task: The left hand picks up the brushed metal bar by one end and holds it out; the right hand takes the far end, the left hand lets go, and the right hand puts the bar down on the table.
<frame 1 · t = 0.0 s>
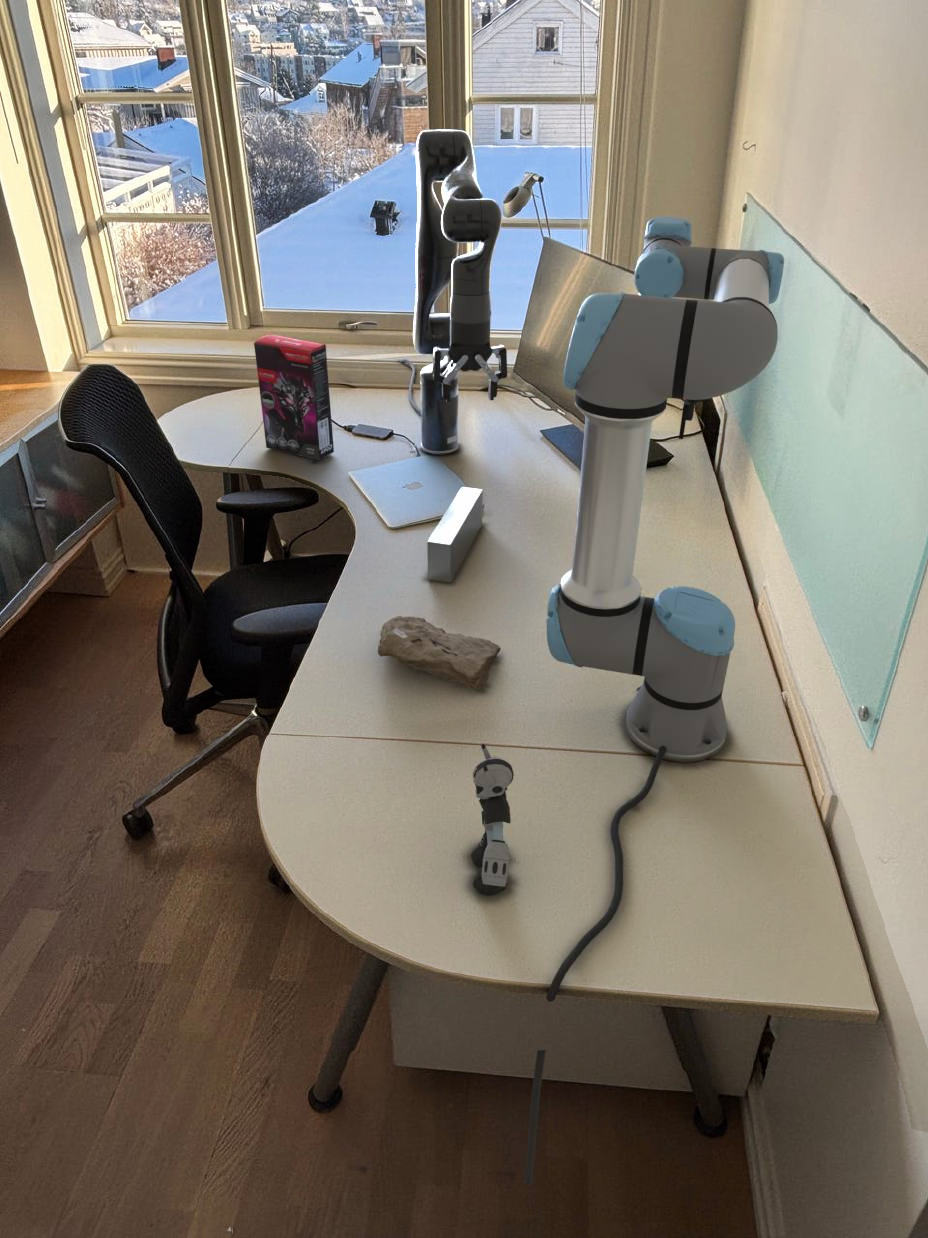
left hand: (469, 400, 180), 29 cm above the table, tool pointing down, fingers open, 8 cm apart
right hand: (643, 432, 170), 28 cm above the table, tool pointing down, fingers open, 13 cm apart
bar: (456, 550, 189), on the table
robot: (489, 871, 120), on the table
stone: (433, 664, 157), on the table
graphics card box: (300, 451, 230), on the table
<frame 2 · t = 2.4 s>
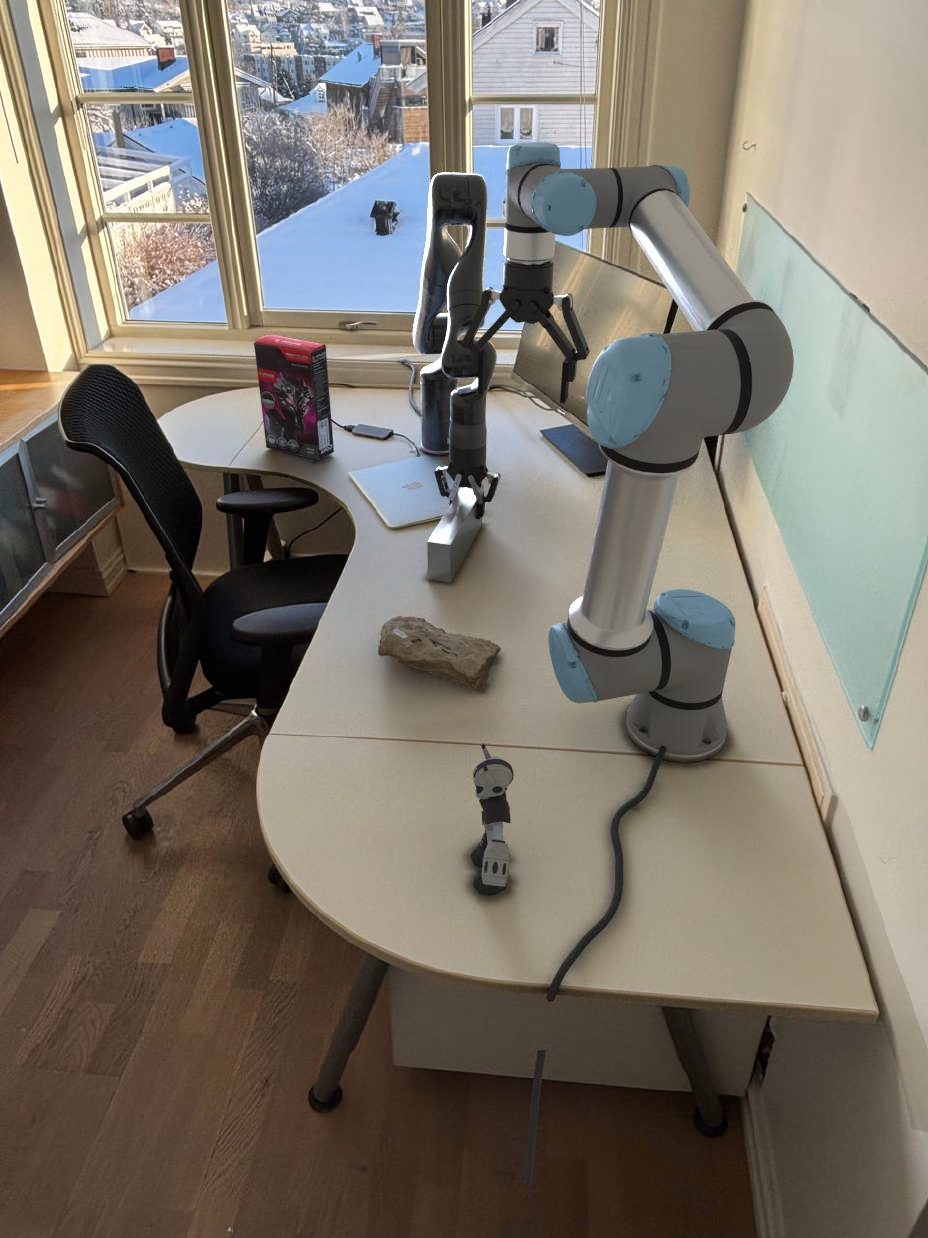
left hand: (466, 515, 194), 4 cm above the table, tool pointing down, fingers closed on bar, 4 cm apart
right hand: (522, 395, 150), 41 cm above the table, tool pointing down, fingers open, 13 cm apart
bar: (456, 550, 189), on the table, touching left hand
everything else where it was.
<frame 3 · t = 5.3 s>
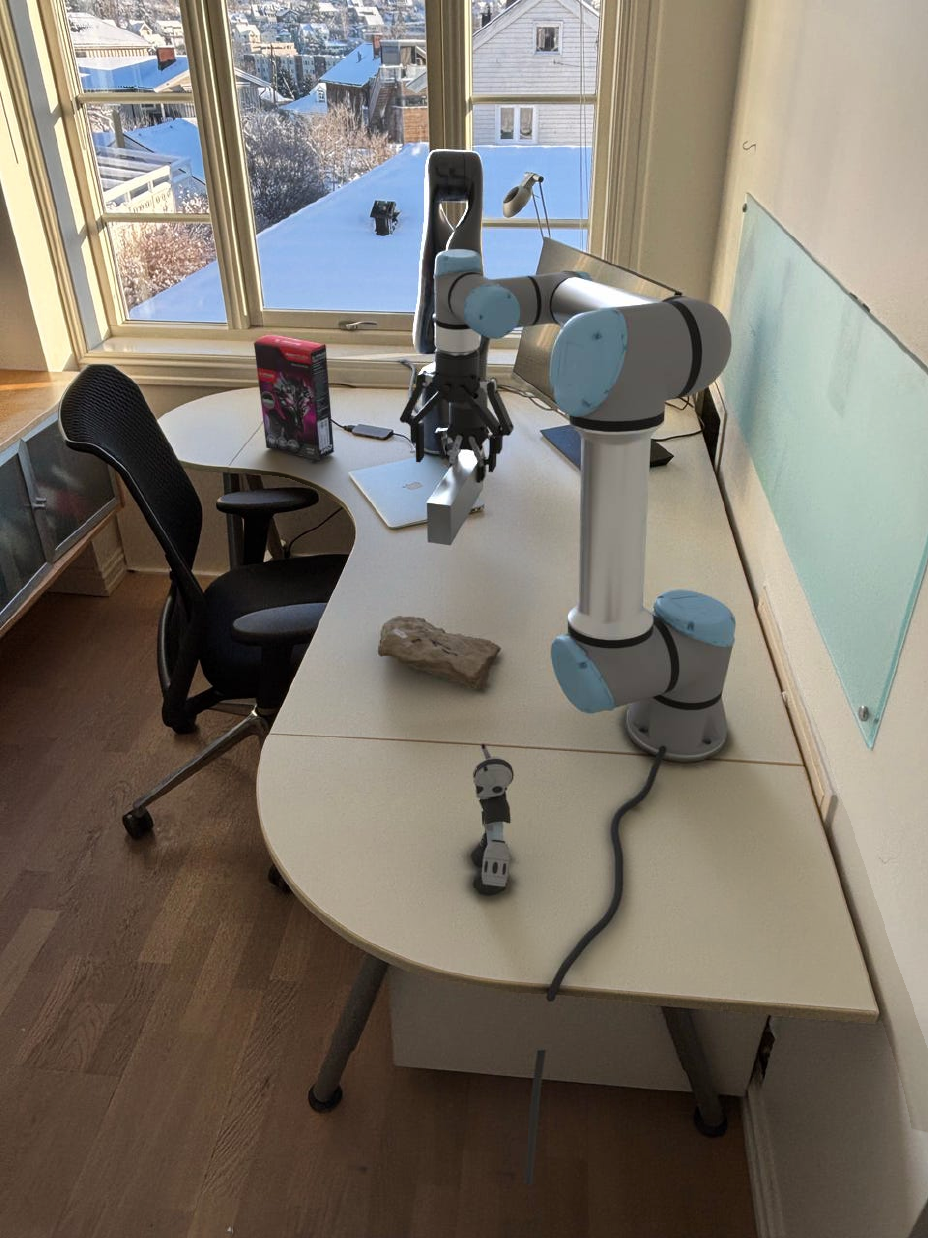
left hand: (467, 479, 189), 12 cm above the table, tool pointing down, fingers closed on bar, 4 cm apart
right hand: (455, 464, 167), 24 cm above the table, tool pointing down, fingers open, 13 cm apart
bar: (456, 514, 185), point 8 cm above the table, touching left hand
everything else where it was.
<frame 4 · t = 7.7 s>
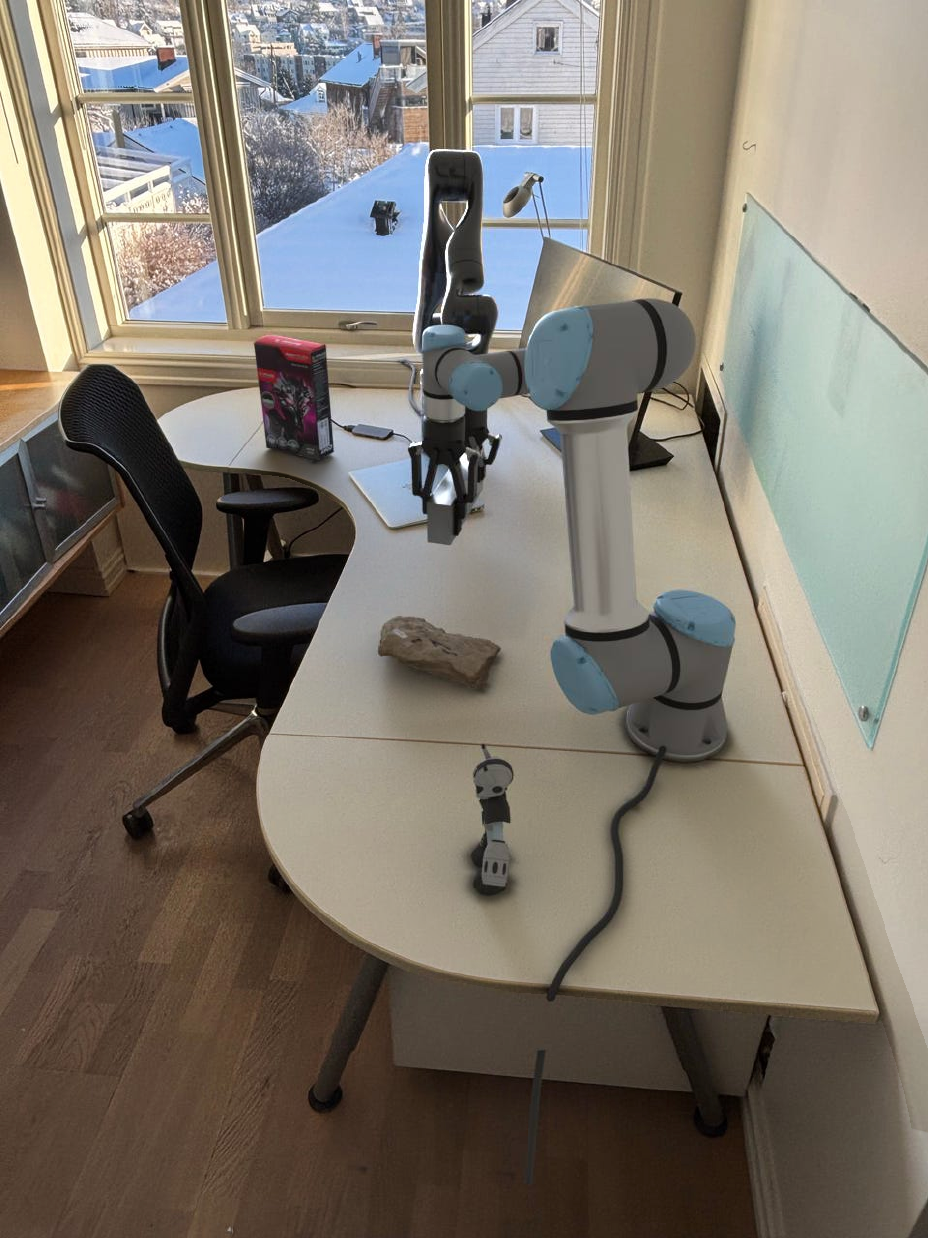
left hand: (467, 479, 189), 12 cm above the table, tool pointing down, fingers closed on bar, 4 cm apart
right hand: (444, 530, 178), 9 cm above the table, tool pointing down, fingers closed on bar, 5 cm apart
bar: (456, 514, 185), point 8 cm above the table, touching right hand, left hand
everything else where it was.
when the left hand's fingers open (12 cm above the table, at t = 8.5 s): bar stays where it is, held by the right hand.
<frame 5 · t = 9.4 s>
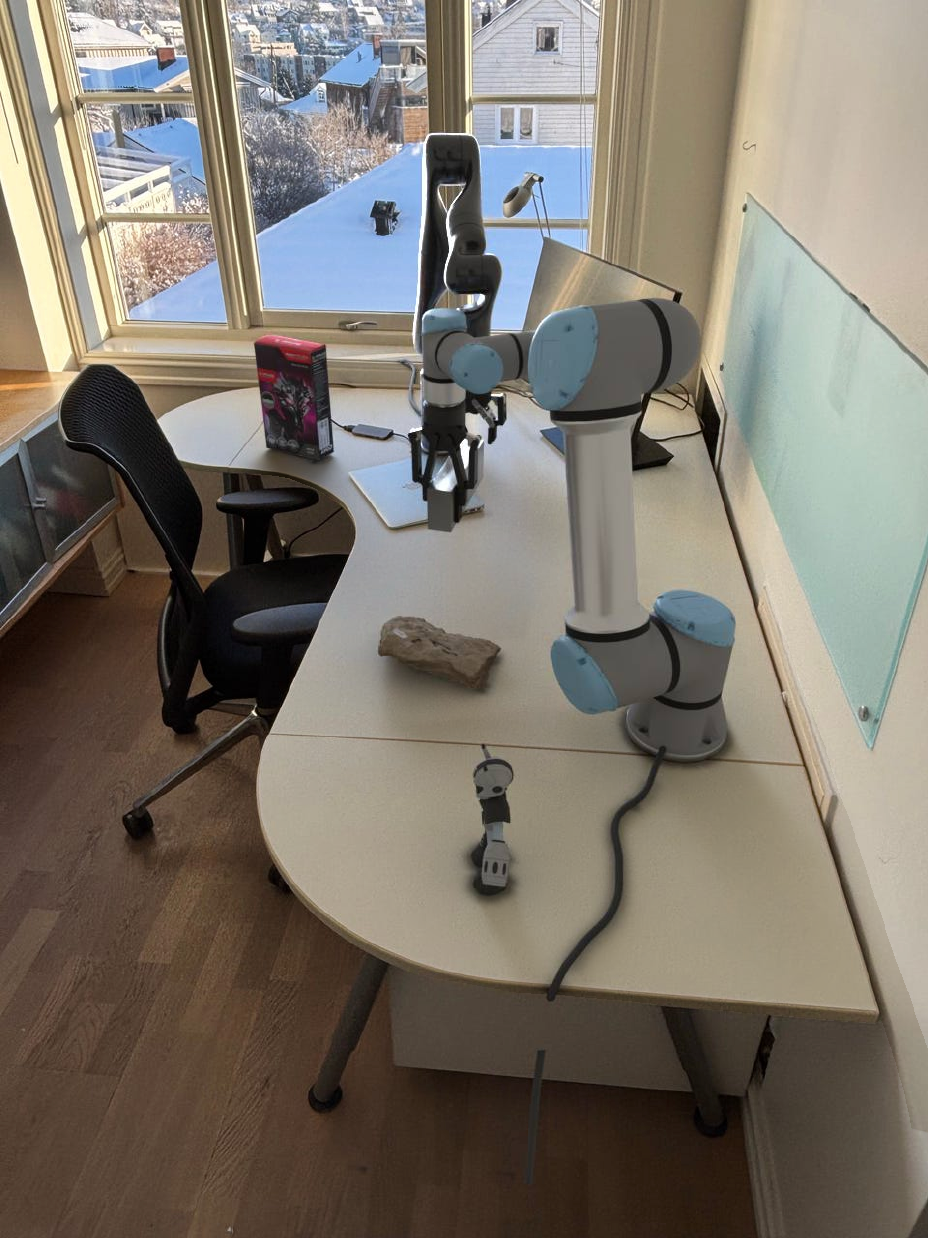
left hand: (470, 440, 187), 20 cm above the table, tool pointing down, fingers open, 8 cm apart
right hand: (445, 517, 176), 12 cm above the table, tool pointing down, fingers closed on bar, 5 cm apart
bar: (457, 502, 183), point 11 cm above the table, touching right hand
everything else where it was.
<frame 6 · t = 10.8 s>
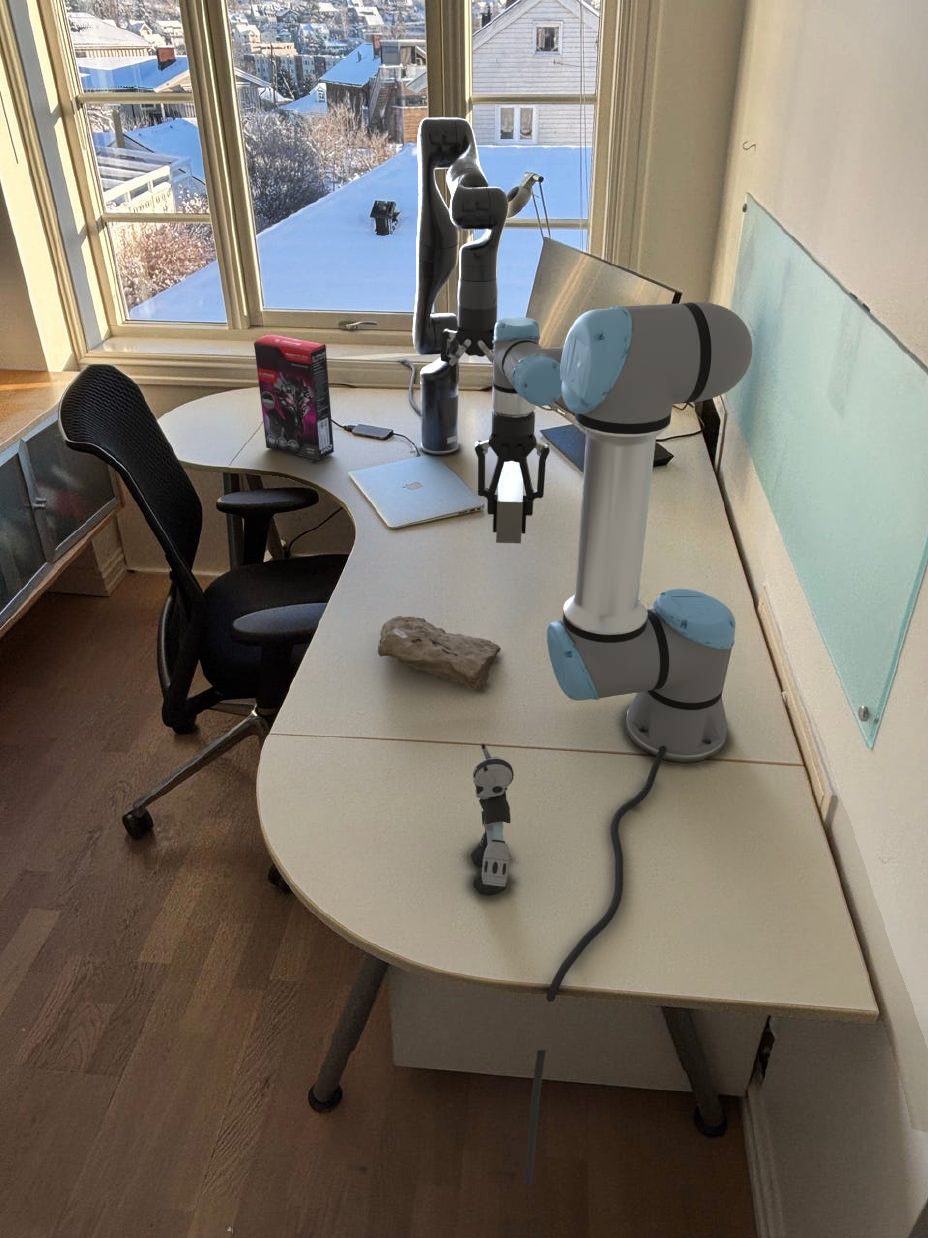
left hand: (476, 384, 184), 30 cm above the table, tool pointing down, fingers open, 8 cm apart
right hand: (509, 529, 173), 12 cm above the table, tool pointing down, fingers closed on bar, 5 cm apart
bar: (510, 512, 181), point 11 cm above the table, touching right hand
everything else where it was.
when the right hand's fingers open (2 cm above the table, at t = 13.9 s): bar stays where it is, on the table.
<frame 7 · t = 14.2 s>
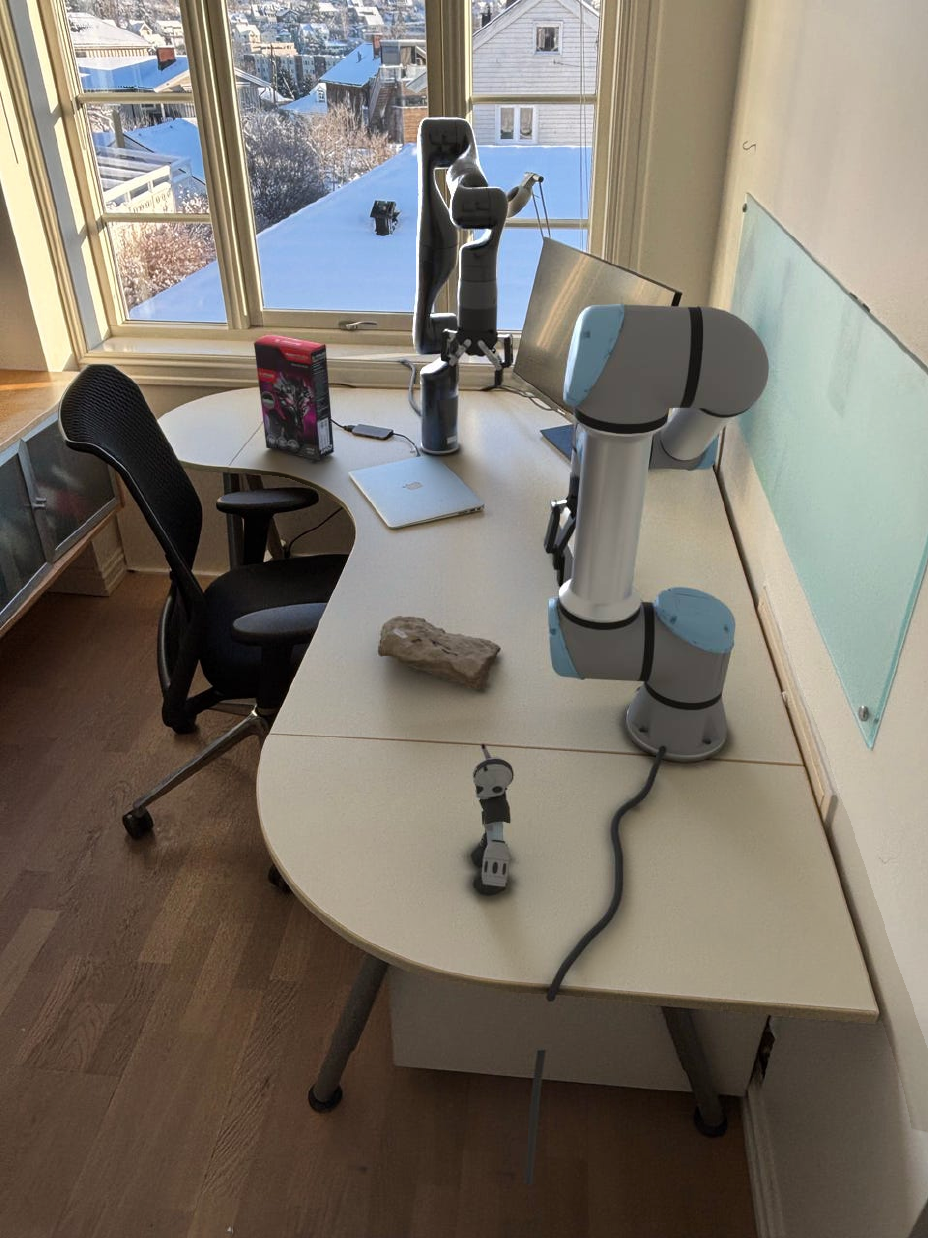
left hand: (476, 384, 184), 30 cm above the table, tool pointing down, fingers open, 8 cm apart
right hand: (581, 582, 175), 2 cm above the table, tool pointing down, fingers open, 8 cm apart
bar: (571, 569, 183), on the table
everything else where it was.
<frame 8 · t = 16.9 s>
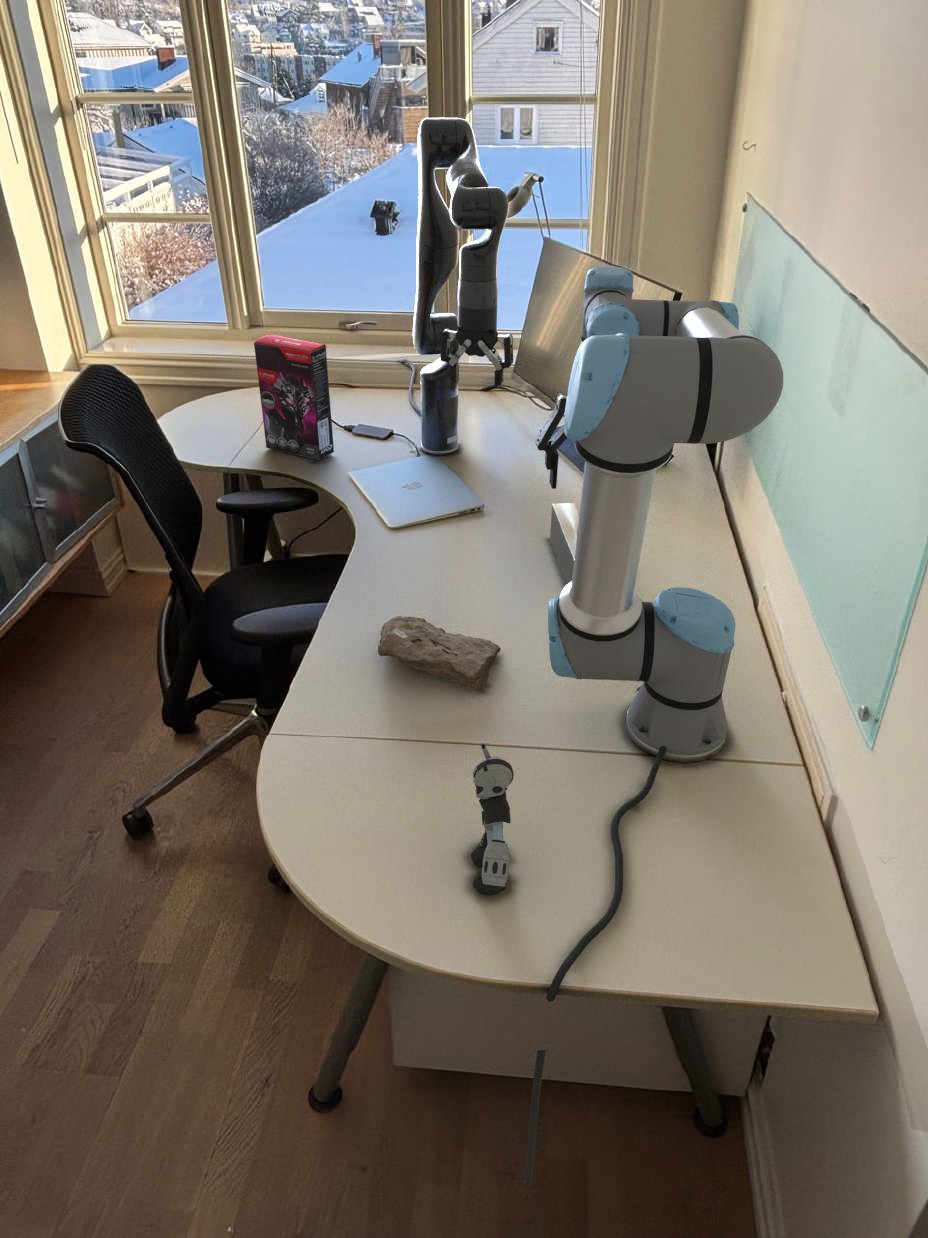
left hand: (476, 384, 184), 30 cm above the table, tool pointing down, fingers open, 8 cm apart
right hand: (590, 484, 164), 23 cm above the table, tool pointing down, fingers open, 13 cm apart
nothing on the table moved.
at the end: bar inside the target area (8.5 cm from its centre), on the table; the left hand is holding nothing; the right hand is holding nothing; bar at rest at the end (0.0 cm/s) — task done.
